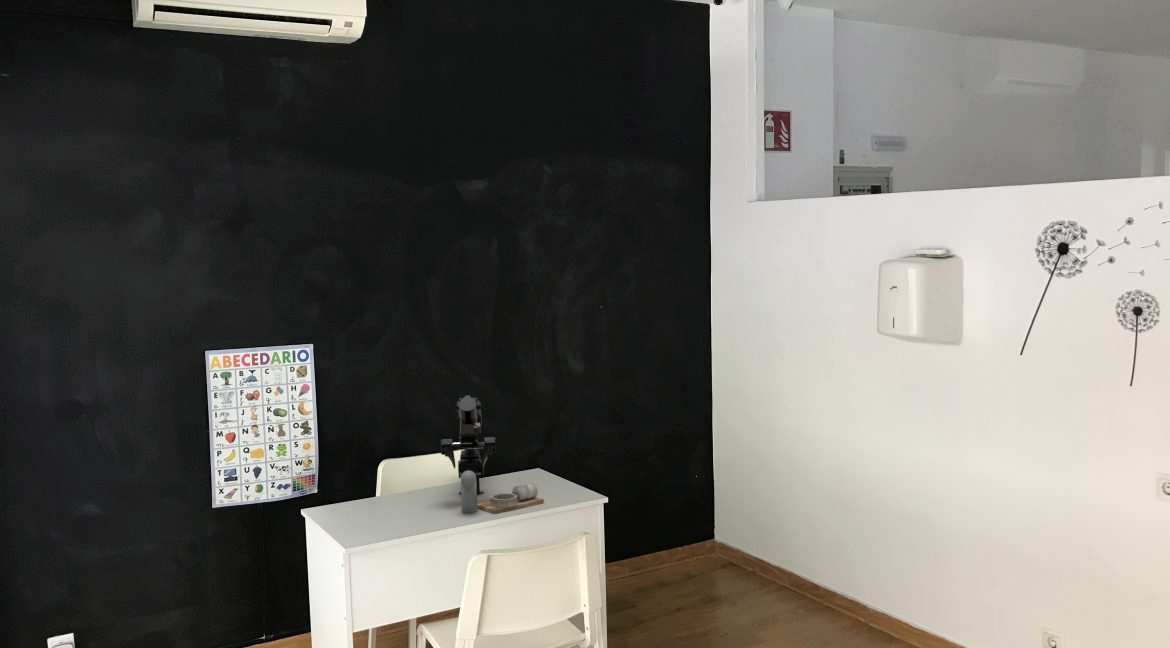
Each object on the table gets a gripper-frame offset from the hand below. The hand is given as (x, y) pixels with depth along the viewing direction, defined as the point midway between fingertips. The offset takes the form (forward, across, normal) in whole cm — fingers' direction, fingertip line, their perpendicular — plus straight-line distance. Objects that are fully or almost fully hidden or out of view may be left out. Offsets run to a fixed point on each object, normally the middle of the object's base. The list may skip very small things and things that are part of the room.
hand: (468, 467), depth 300 cm
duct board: (+9, +13, +10) cm, 19 cm away
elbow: (+13, 0, +6) cm, 15 cm away
